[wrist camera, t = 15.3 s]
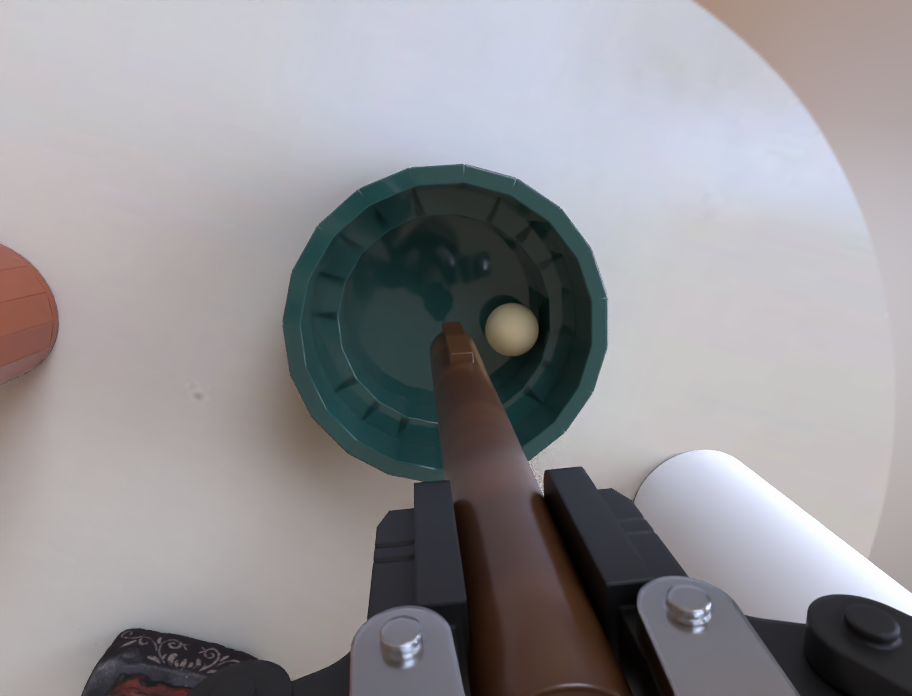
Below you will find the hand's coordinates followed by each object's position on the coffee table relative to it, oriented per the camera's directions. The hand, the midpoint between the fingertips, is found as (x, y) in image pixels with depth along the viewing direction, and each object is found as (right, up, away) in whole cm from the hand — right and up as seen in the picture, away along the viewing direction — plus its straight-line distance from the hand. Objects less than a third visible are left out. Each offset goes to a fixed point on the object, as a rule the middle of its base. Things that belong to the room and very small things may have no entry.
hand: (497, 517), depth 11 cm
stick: (-1, +3, +13) cm, 13 cm away
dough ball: (+2, +4, +18) cm, 18 cm away
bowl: (-2, +5, +20) cm, 20 cm away
